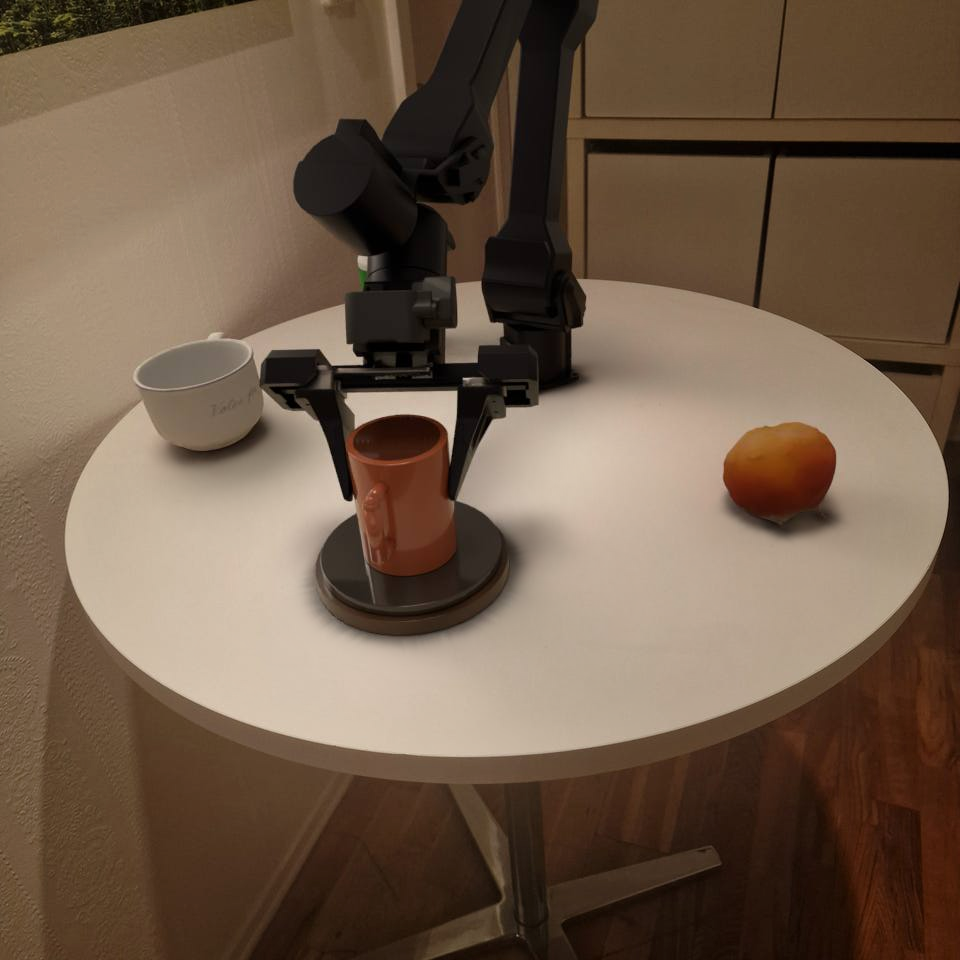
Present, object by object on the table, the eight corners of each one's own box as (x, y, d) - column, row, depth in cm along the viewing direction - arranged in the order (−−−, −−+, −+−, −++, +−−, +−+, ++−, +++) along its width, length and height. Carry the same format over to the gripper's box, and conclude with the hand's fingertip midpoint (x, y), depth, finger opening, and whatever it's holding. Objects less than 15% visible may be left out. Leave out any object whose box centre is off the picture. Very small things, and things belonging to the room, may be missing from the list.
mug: (362, 497, 67) (345, 387, 62) (519, 514, 64) (515, 399, 58) (290, 601, 57) (261, 480, 51) (473, 628, 53) (462, 501, 48)
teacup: (240, 467, 75) (220, 387, 70) (132, 461, 77) (106, 382, 72) (299, 397, 86) (285, 324, 82) (203, 393, 88) (185, 322, 84)
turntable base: (463, 496, 69) (462, 484, 68) (543, 594, 58) (542, 580, 57) (297, 546, 64) (294, 533, 63) (349, 662, 53) (347, 648, 52)
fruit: (794, 543, 58) (763, 434, 58) (722, 540, 66) (695, 443, 65) (876, 508, 61) (847, 404, 61) (798, 509, 69) (773, 416, 68)
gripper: (237, 233, 52) (218, 475, 49) (534, 222, 51) (535, 472, 47) (292, 307, 63) (279, 509, 60) (538, 300, 61) (539, 507, 58)
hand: (399, 500), depth 56 cm, fingers closed on mug, 7 cm apart
